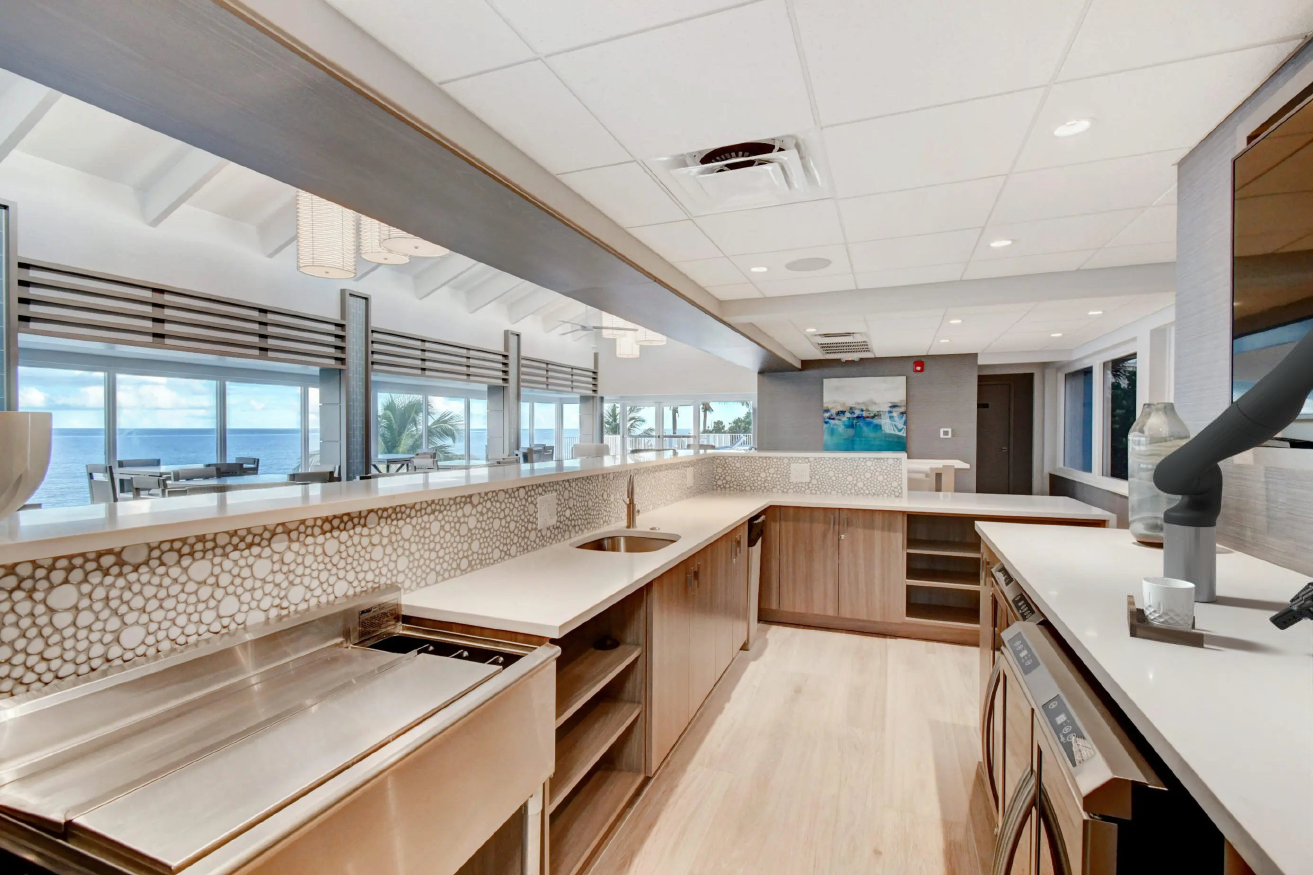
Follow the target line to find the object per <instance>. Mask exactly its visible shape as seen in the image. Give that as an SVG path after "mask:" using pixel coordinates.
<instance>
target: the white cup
mask: <svg viewBox="0 0 1313 875" xmlns="http://www.w3.org/2000/svg"><path fill="white" fill-rule="evenodd" d="M1141 581H1142V582H1141V584H1142V585H1141V586H1142V600H1143V609H1144V614H1145V622H1144V623H1145V624H1146V625H1153V626H1160V627H1166V628H1173V629H1180V630H1187V631H1193V629H1192V623H1193V616H1195V602H1196V601H1195V585H1194V584H1192V583H1190V582H1186V581H1182V580H1177V579H1171V578H1163V577H1158V576H1156V577H1155V576H1149V577H1148V576H1147V577H1143V578H1142V579H1141Z"/></svg>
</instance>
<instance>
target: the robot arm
mask: <svg viewBox="0 0 1313 875" xmlns="http://www.w3.org/2000/svg"><path fill="white" fill-rule="evenodd" d="M1311 392H1313V327H1312V328H1311V329H1310V330H1309V331H1308V332H1307V333H1306V334H1305V335H1304V336H1303V337H1302V338H1301V340H1299V341H1298V343H1297V344H1296V345H1295V346H1294V347H1293V348H1292V349H1291V350H1290V352H1288V354H1287V355H1286V356H1285V357H1284V358H1283V359H1282V360H1281V361H1280V362H1279V363H1278V364H1277V365H1276V366H1275V367H1273V369H1271V371H1269V372H1268V373H1267V374H1266V375H1264V376H1263V377H1262V378H1261V379H1260V380H1259V381H1258V382H1257V383H1255V384H1254V385H1253V386H1252V387H1251V388H1250V389H1248V390H1247V391H1246V392H1245V393H1243V394H1242V395H1241V396H1240V397H1238V398H1237V399H1236V400H1235V401H1233V402H1232V404H1230V405H1229V406H1228V407H1226V409H1225V410H1223V412H1222V413H1220V414H1219V416H1217V417H1216V418H1215V419H1214V420H1213V421H1211V422H1210V423H1209V424H1208V425H1207V426H1204V428H1203V429H1202V430H1200V432H1198V433H1197V434H1196V435H1195V436H1194V437H1192V438H1191V439H1190V440H1189V441H1187V442H1186V443H1184V444H1183V445H1181V446H1180V447H1179V448H1176V450H1174V451H1173V452H1171V453H1169V454H1168V455H1167V456H1165V457H1164V458H1162V459H1161V460H1160V461H1159V462H1158V463H1157V465H1156V467H1155V468H1154V471H1153V474H1152V480H1153V484H1154V486H1155V488H1156V489H1157V490H1159V491H1161V492H1162V493H1164V494H1167V495H1172V496H1181V497H1180V500H1179V502H1178V503H1176V504H1175V505H1173V506H1171V507H1170V508H1167V509H1166V510H1164V511H1163V517H1162V518H1163V528H1162V529H1163V530H1162V532H1163V557H1162V558H1163V560H1162V561H1163V566H1162V567H1163V571H1162V572H1163V577H1162V578H1171V579H1177V580H1182V581H1186V582H1190V583H1192V584H1194V585H1195V601H1194V602H1200V603H1201V602H1203V603H1204V602H1205V603H1207V602H1208V603H1210V602H1215V601H1217V519H1218V518H1219V516H1220V514H1221V511H1222V500H1223V499H1222V498H1223V485H1224V481H1223V479H1224V478H1223V472H1222V469H1221V467H1220V465H1219V463H1220V462H1223V461H1224V460H1227V459H1229V458H1232V457H1234V456H1236V455H1239V454H1242V453H1245V452H1248V451H1250V450H1252V449H1253V448H1256V447H1259V446H1261V445H1263V444H1264V443H1267V442H1268V441H1270V440H1271V439H1272V438H1274V437H1275V436H1276V435H1278V434H1279V433H1281V432H1282V431H1283V430H1285V429H1286V428H1288V427H1289V426H1290V425H1291V424H1292V423H1293V422H1294V421H1295V420H1296V419H1297V418H1298V416H1299V415H1300V414H1301V413H1302V410H1303V408H1304V406H1305V403H1306V400H1307V398H1308V396H1309V395H1310V394H1311ZM1287 605H1288V606H1287V607H1286V608H1284V609H1282V610H1281V611H1278V612H1277V613H1275V614H1274V615H1272V616H1270V617H1269V621H1270V623H1271V624H1273V625H1274V626H1275V627H1276V628H1277V629H1279V630H1281V631H1285V630H1287V629H1288V628H1290V627H1292V626H1294V625H1296V624H1297V623H1299V622H1300V621H1303V620H1305V621H1306V620H1310V621H1313V581H1310V582H1308V583H1307V584H1306V585H1305V586H1303V588H1302V589H1301V590H1299V591H1298V592H1297V593H1295V595H1294V596H1293V597H1292V598H1291V599H1290V600H1289V603H1288V604H1287Z"/></svg>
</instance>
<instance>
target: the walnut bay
mask: <svg viewBox="0 0 1313 875" xmlns="http://www.w3.org/2000/svg"><path fill="white" fill-rule="evenodd" d="M1126 603H1127V604H1126V609H1127V611H1126V612H1127V613H1126V614H1127V617H1126V618H1127V626H1128V633H1129V637H1132V638H1138V639H1145V640H1152V641H1157V642H1162V643H1163V642H1164V643H1170V644H1176V645H1181V644H1182V645H1183V646H1187V647H1188V646H1189V647H1193V648H1194V647H1196V648H1201V649H1204V646H1205V644H1204V643H1205V638H1204V637H1205V636H1204V635H1205V634H1204V632H1200V631H1193V630H1196V616H1195V615H1194V616H1193V623H1192V631H1187V630H1180V629H1173V628H1166V627H1160V626H1153V625H1146V622H1145V614H1144V608H1140V607H1136V601H1135V597H1134V595H1131V594H1127V596H1126ZM1138 622H1140V623H1138Z"/></svg>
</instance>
